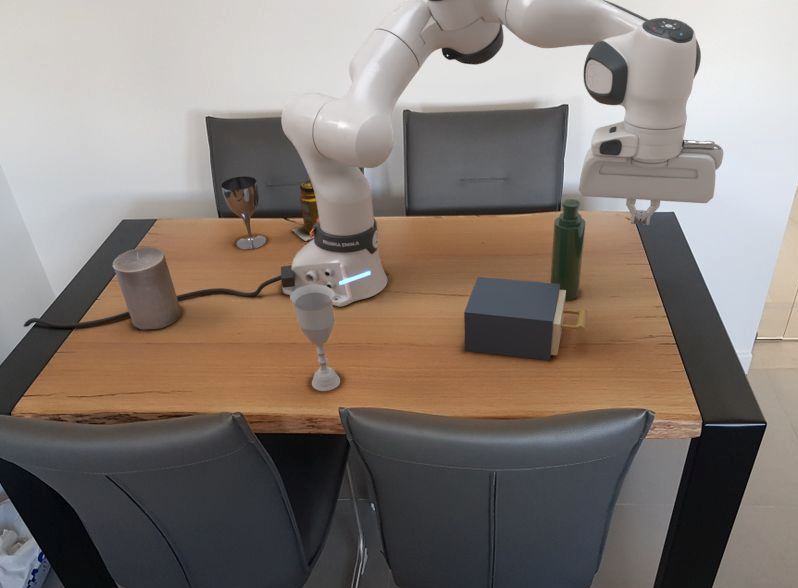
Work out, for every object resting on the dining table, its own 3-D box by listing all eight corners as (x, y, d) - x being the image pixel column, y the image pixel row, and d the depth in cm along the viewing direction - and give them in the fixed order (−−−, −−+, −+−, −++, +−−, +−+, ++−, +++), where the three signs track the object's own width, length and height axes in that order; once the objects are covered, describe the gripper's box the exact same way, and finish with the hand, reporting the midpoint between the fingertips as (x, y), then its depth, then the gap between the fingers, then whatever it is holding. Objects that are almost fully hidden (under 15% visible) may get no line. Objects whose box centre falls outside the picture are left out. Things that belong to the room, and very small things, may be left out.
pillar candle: (166, 299, 151) (147, 236, 143) (190, 316, 146) (171, 251, 137) (123, 318, 146) (101, 254, 137) (146, 336, 140) (124, 270, 132)
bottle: (547, 299, 144) (553, 208, 132) (550, 284, 149) (557, 195, 137) (577, 302, 143) (586, 210, 131) (579, 287, 147) (588, 197, 136)
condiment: (336, 231, 173) (330, 185, 166) (305, 241, 170) (297, 194, 163) (322, 221, 178) (316, 175, 171) (292, 230, 175) (284, 184, 168)
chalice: (298, 389, 125) (281, 302, 114) (316, 366, 130) (302, 281, 119) (335, 397, 122) (322, 310, 112) (352, 374, 127) (341, 288, 117)
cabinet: (557, 322, 138) (560, 283, 132) (549, 360, 128) (552, 321, 123) (477, 313, 141) (477, 276, 136) (464, 350, 131) (464, 312, 126)
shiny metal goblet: (264, 249, 168) (252, 189, 159) (231, 250, 168) (217, 191, 159) (270, 233, 174) (259, 175, 165) (238, 235, 174) (225, 177, 165)
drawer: (586, 322, 135) (589, 292, 131) (581, 358, 126) (584, 326, 122) (488, 312, 140) (488, 283, 136) (477, 346, 131) (477, 315, 127)
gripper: (724, 134, 107) (706, 218, 115) (585, 129, 112) (578, 210, 120) (727, 149, 102) (709, 236, 110) (582, 143, 107) (574, 227, 115)
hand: (639, 222), depth 115 cm, fingers closed
